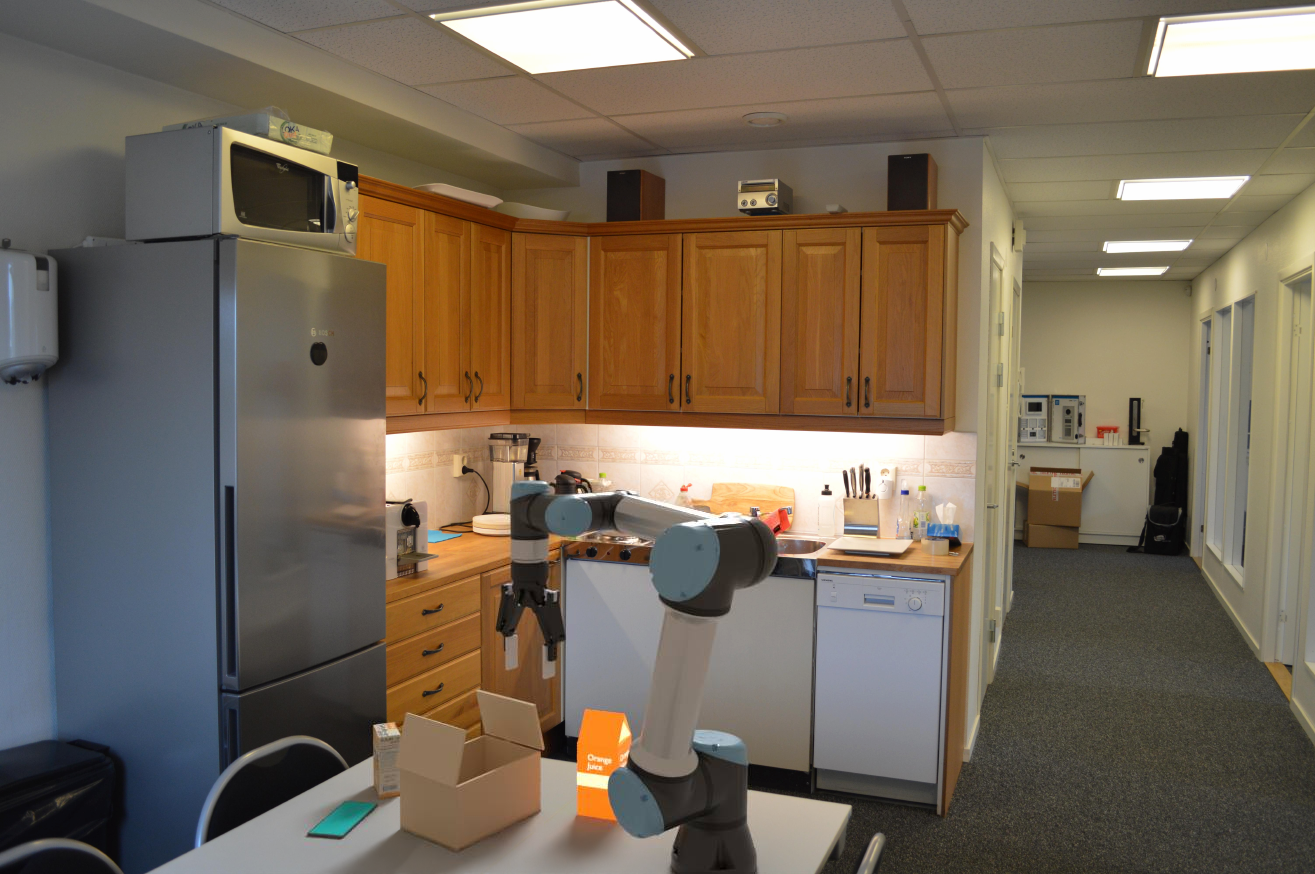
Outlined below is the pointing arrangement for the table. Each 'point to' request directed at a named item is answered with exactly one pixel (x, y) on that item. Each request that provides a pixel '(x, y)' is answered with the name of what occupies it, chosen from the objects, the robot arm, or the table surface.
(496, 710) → the right flap
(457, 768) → the left flap
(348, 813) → the smartphone
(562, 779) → the table surface
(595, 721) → the orange juice
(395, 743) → the supplement box
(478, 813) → the carton
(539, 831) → the table surface
